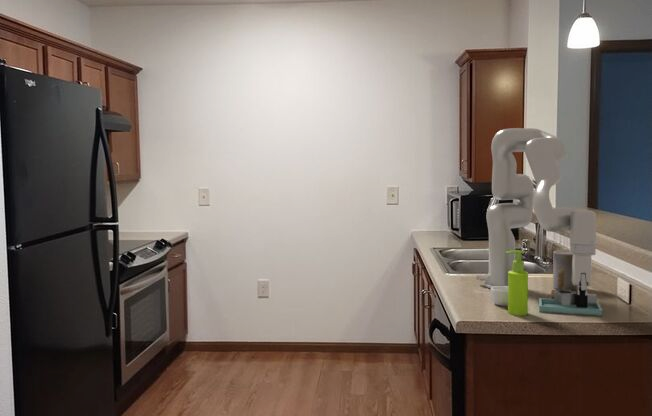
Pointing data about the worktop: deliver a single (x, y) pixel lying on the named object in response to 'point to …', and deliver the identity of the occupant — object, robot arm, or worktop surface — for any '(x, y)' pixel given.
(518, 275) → the soap dispenser
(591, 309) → the tray
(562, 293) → the wrench
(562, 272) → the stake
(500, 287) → the teacup
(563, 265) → the pillar candle
